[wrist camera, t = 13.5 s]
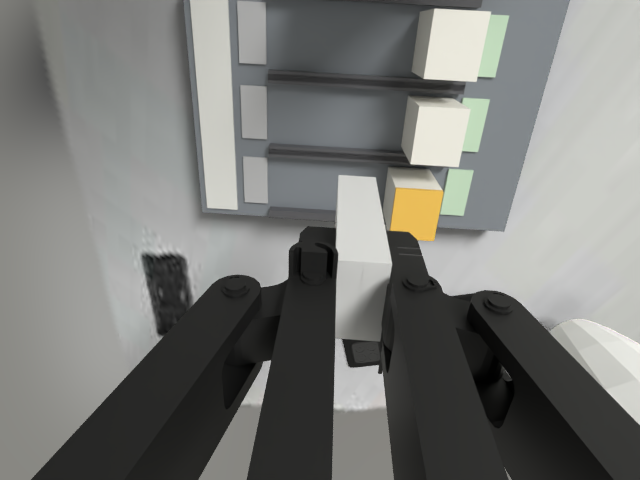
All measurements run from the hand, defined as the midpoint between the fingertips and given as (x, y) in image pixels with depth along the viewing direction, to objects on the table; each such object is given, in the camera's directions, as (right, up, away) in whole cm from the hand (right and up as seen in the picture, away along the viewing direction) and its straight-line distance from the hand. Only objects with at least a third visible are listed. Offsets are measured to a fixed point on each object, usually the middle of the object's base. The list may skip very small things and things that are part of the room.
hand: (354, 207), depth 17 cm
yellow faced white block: (+5, +2, +14) cm, 15 cm away
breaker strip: (+2, +8, +14) cm, 16 cm away
